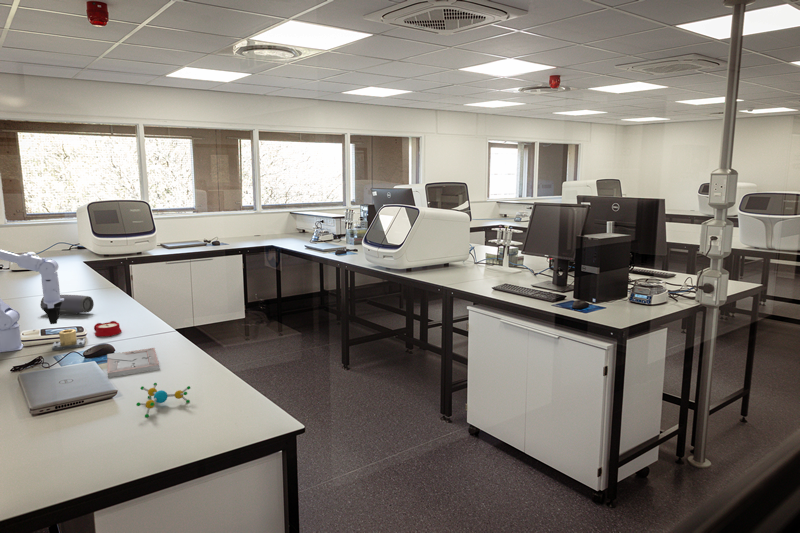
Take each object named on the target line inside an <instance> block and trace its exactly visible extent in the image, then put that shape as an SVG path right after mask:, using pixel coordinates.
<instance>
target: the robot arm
mask: <svg viewBox="0 0 800 533" xmlns="http://www.w3.org/2000/svg"><path fill="white" fill-rule="evenodd" d="M0 260H2V261H6V262H10V263H15V264H16V265H17V266H18V268H21V269H25V270H29V271H33V272H36V273H37V272H38V273H39V274H40V276H41V279H40V280H41V288H42V298H43V297H44V301H43V302H44V303H45V304H46V305H47V307H44V308H43V310H42V311H43V312H44V313H45V314H46V316H47V318H48V319H47V320H48V321H49V324H50V325H56V324H58V320H59V319H60V314H59V313H60V307H61V304H62V301H64V298H62V299H61V298H60V295H61V291H60V282H59V281H60V280H59V275H58V269H59V263H58V262H57V261H56V260H53V259H51V258H50V259H49V258H48V259H46V257H38V256H34V255H33V253H23V254H21V255H19V254H16V253H13V252H10V251H8V250H3V249H0ZM20 318H21V315H20V313H19V311H18V310H16V309H14V308H13V307H11V306H10V305H9V303H6V302H4V300H3V299H2V298H1V297H0V353H5V352H12V351H14V352H15V351H20V350H22V349H23V347H24V346H25V344H24V345H23V344H22V337H21V336H22V335H21V330H20V324H19V323H18V322H19V320H20Z"/></svg>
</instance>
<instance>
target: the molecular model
mask: <svg viewBox="0 0 800 533" xmlns="http://www.w3.org/2000/svg"><path fill="white" fill-rule="evenodd" d="M157 383H158V382H154V383H153V384H152V385H153V387H150V388H149V389H148V388H147V387H145V386H144V385H143V386H141V387H139V388H140V390H141V391H143V390H144V391H146V392H147V395H148V396H147V399H148V400H146V402H142V403H141V402H136V406H137V407H140V406H145V408H146V409H147V410H146V413H145V414H144V417H145V418H148V417H149V414H150V409H153V408H155V405H156V403H157V404H163V403H165V402H166V401H167V400H168V398H169V397H170V398H171V397H174V398H175V399H177V400H178V399H179V400H180V399H182V400H183V401H185V402H186V404H188V403H190V402H191V401H190V399H187V398H186V397H184V396H187V395H188V390H190V389H191V386H190V385H187V387H186V388H184V389H183V390H179V389H178V390H176V391H175V392H174V393H167V391H165V390H162V389H161V390H157V389H156V387H157V385H158V384H157ZM152 397H153V400H152Z"/></svg>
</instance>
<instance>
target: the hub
mask: <svg viewBox="0 0 800 533" xmlns="http://www.w3.org/2000/svg"><path fill="white" fill-rule="evenodd" d="M58 335H59V342H60V345H72V344H74V343H77V338H78V337H77V330H76V329H74V328H73V329H72V328H71V329H69V328H68V329H64V330H61V331H59V332H58Z"/></svg>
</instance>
